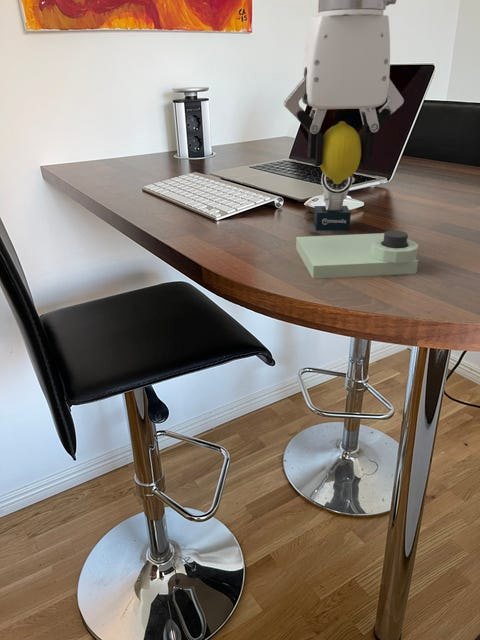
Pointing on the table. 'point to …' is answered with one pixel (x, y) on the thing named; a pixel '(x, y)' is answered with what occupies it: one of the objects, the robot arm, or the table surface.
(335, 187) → the watch
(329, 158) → the lemon
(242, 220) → the table surface
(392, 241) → the button
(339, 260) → the scale
